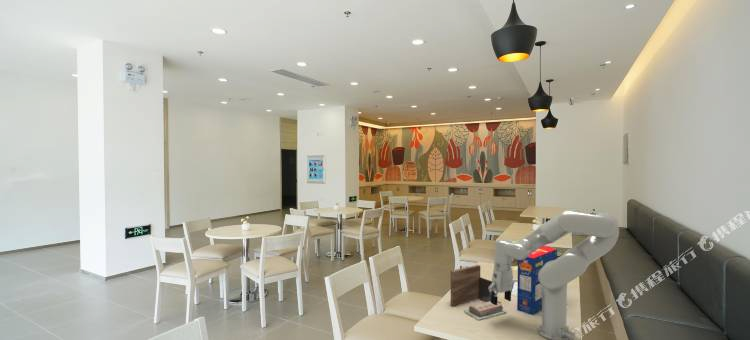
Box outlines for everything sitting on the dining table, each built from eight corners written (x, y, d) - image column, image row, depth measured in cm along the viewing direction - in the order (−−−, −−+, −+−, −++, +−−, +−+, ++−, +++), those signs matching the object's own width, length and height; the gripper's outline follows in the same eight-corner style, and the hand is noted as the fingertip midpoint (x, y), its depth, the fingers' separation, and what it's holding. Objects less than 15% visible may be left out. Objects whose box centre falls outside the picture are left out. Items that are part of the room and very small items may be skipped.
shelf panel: (480, 298, 194) (480, 265, 193) (453, 306, 183) (453, 271, 182) (477, 297, 195) (477, 264, 195) (450, 305, 185) (450, 270, 184)
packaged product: (491, 297, 184) (506, 304, 175) (491, 307, 184) (506, 314, 175) (464, 303, 176) (478, 311, 167) (463, 313, 176) (478, 321, 167)
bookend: (501, 303, 188) (501, 280, 187) (493, 305, 185) (494, 282, 184) (485, 297, 196) (486, 275, 196) (478, 299, 193) (479, 277, 193)
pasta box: (541, 296, 198) (542, 246, 197) (556, 300, 192) (557, 248, 191) (517, 310, 179) (517, 254, 178) (533, 315, 173) (533, 258, 172)
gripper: (497, 271, 159) (495, 308, 160) (521, 265, 168) (519, 301, 169) (483, 266, 165) (481, 302, 166) (507, 261, 174) (506, 295, 175)
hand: (500, 301), depth 167 cm, fingers open, 9 cm apart
